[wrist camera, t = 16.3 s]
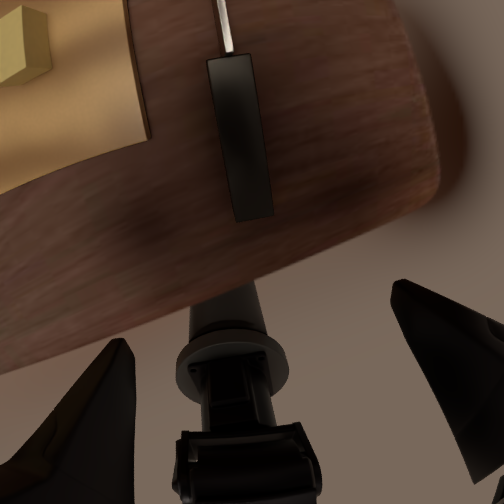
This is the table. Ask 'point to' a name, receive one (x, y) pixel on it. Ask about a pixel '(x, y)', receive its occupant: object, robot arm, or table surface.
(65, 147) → the board
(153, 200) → the table surface
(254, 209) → the knife
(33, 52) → the butter slice
